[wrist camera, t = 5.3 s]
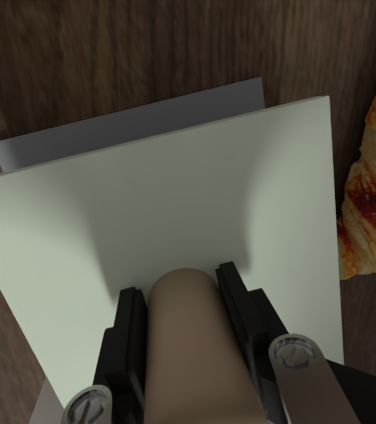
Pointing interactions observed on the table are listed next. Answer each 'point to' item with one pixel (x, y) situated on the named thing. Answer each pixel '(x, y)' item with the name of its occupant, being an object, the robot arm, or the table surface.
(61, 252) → the lid
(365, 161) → the croissant
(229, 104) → the mat
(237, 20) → the table surface
